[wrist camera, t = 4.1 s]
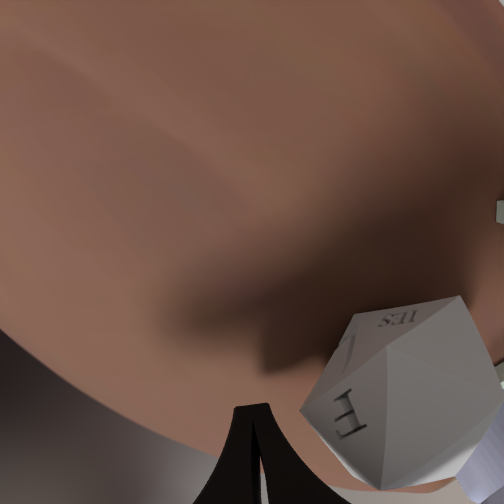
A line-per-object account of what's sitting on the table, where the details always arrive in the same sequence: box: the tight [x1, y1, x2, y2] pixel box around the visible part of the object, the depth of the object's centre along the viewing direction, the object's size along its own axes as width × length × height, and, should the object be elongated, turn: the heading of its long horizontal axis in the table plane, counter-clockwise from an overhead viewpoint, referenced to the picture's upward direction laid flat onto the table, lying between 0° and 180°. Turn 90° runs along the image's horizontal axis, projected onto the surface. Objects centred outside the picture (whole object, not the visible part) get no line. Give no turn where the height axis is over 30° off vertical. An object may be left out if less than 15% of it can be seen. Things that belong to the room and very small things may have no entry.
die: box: [299, 295, 504, 490], centre depth 10 cm, size 8×9×10 cm
